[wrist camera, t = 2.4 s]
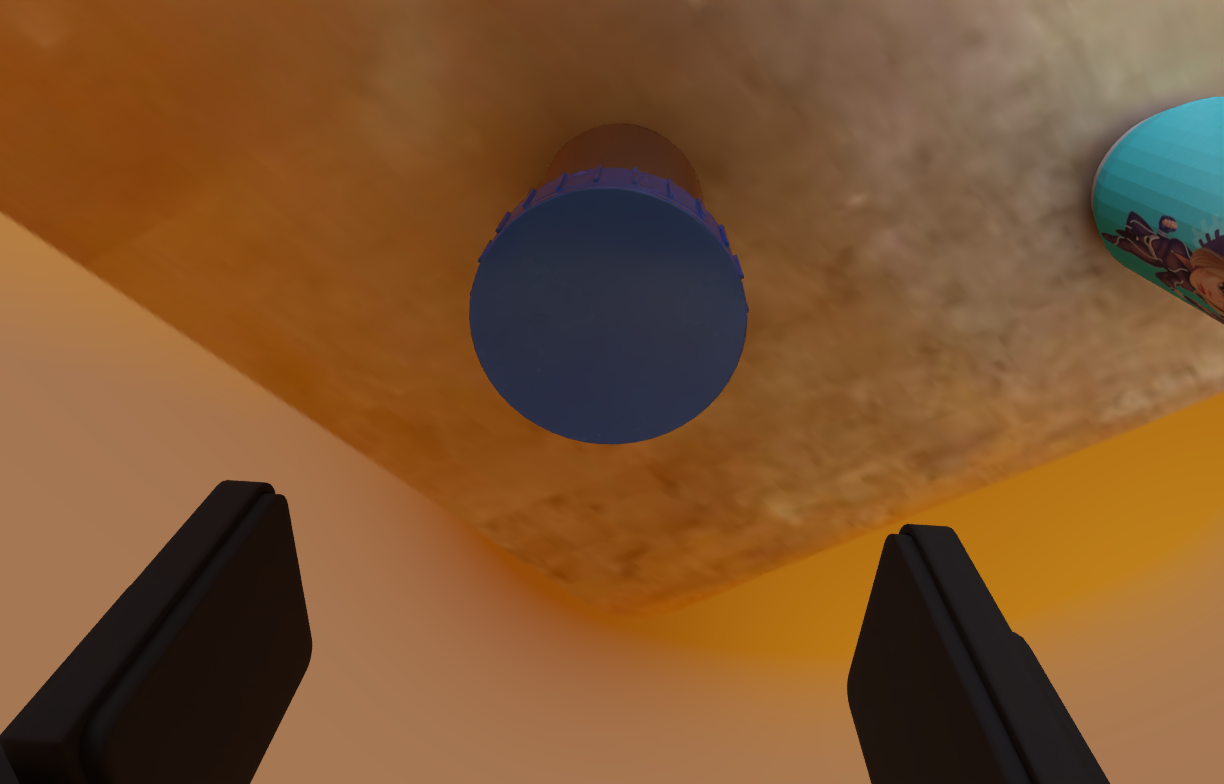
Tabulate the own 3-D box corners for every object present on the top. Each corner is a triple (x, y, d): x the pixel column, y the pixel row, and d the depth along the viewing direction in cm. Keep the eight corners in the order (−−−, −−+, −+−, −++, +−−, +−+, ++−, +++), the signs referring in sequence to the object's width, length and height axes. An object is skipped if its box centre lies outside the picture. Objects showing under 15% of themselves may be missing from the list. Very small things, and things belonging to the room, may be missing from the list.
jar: (627, 85, 26) (617, 142, 16) (734, 215, 27) (779, 329, 18) (505, 201, 27) (437, 309, 18) (614, 314, 29) (600, 463, 20)
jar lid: (621, 103, 18) (618, 117, 16) (792, 306, 20) (807, 339, 18) (429, 284, 20) (408, 314, 18) (602, 448, 22) (598, 490, 20)
